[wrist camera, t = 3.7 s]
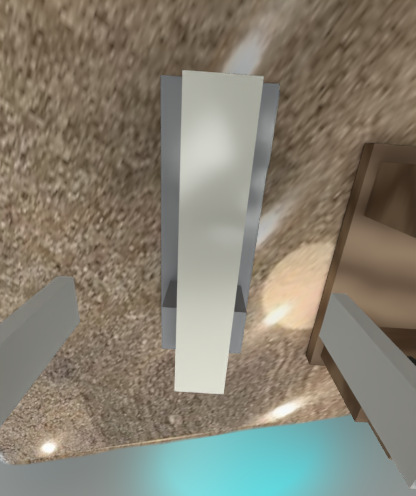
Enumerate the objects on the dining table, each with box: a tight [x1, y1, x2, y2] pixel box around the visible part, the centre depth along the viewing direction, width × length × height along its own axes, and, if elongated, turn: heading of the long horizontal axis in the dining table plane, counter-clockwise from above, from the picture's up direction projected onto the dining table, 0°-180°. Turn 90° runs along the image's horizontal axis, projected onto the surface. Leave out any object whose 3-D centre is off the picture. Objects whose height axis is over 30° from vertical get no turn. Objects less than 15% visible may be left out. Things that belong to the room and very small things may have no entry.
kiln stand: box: [161, 75, 280, 354], centre depth 24 cm, size 26×10×6 cm, turn 176°
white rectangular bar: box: [175, 70, 264, 394], centre depth 18 cm, size 22×4×5 cm, turn 176°
